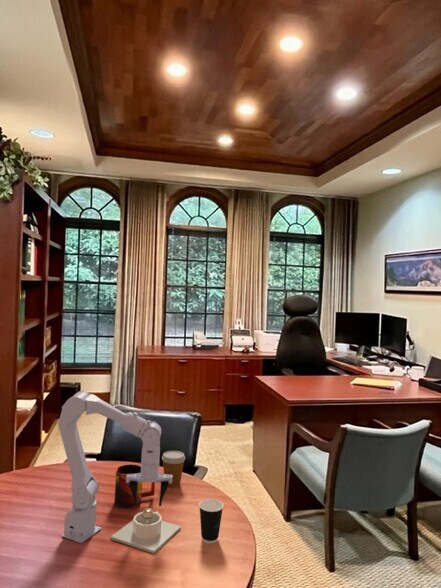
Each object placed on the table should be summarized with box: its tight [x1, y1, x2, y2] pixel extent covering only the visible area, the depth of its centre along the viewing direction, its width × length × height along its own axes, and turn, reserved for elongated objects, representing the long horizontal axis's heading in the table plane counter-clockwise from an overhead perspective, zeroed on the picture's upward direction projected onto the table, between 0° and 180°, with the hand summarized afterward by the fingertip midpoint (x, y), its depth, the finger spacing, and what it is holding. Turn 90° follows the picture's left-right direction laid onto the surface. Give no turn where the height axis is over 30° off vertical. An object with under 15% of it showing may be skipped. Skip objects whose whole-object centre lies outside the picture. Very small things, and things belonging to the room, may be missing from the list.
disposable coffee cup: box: [161, 450, 186, 488], centre depth 178 cm, size 10×10×12 cm
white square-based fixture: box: [110, 511, 182, 554], centre depth 140 cm, size 16×16×5 cm
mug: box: [114, 464, 156, 509], centre depth 163 cm, size 10×14×12 cm
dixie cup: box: [198, 498, 225, 545], centre depth 139 cm, size 8×8×11 cm
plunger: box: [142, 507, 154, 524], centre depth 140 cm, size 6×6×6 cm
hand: (148, 504), depth 140 cm, fingers open, 7 cm apart
